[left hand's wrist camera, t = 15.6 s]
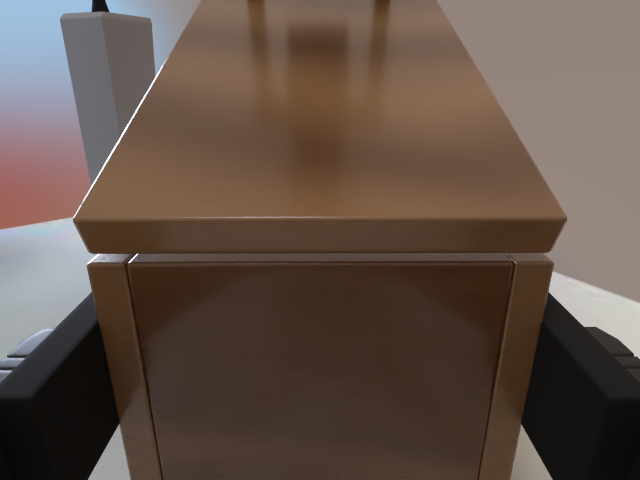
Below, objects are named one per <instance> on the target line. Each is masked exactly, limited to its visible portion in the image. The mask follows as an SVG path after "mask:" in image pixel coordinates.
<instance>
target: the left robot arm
mask: <svg viewBox="0 0 640 480" xmlns="http://www.w3.org/2000/svg"><path fill="white" fill-rule="evenodd" d="M521 424H522V426H523V428H524V429H525V431H526V433H527V435H528V436H529V438H530V440H531V442H532V444H533V445H534V447H535V449H536V451H537V452H538V454H539V456H540V458H541V460H542V461H543V463H544V465H545V467H546V468H547V470H548V472H549V474H550V476H551V477H552V479H553V480H640V359H639V358H638V357H634V354H633V353H632V352H631V351H630V350H629V349H628V348H627V347H626V346H625V345H624V344H623V343H621V342H620V341H619V340H618V339H616V338H615V337H613V336H611V335H609V334H607V333H606V332H604V331H602V330H600V329H598V328H597V327H583V326H582V325H581V324H580V323H579V322H578V321H577V320H576V319H575V318H574V317H573V316H572V315H571V314H570V313H569V312H568V311H567V310H566V309H565V308H564V307H563V306H562V305H561V304H560V303H559V302H558V301H557V300H556V299H555V298H554V297H553V296H552V295H551V294H550V293H549V292H548V296H547V301H546V306H545V310H544V315H543V320H542V324H541V329H540V334H539V339H538V344H537V348H536V353H535V358H534V363H533V368H532V373H531V378H530V383H529V387H528V392H527V397H526V402H525V407H524V412H523V417H522V422H521ZM118 425H119V420H118V415H117V410H116V405H115V400H114V395H113V390H112V386H111V381H110V376H109V371H108V366H107V361H106V356H105V352H104V347H103V342H102V337H101V332H100V327H99V323H98V318H97V313H96V308H95V303H94V298H93V293H92V292H91V293H90V294H89V295H88V296H87V297H86V298H85V299H84V300H83V301H82V302H81V303H80V304H79V305H78V306H77V307H76V308H75V309H74V310H73V311H72V312H71V313H70V314H69V315H68V316H67V317H66V318H65V319H64V320H63V321H62V322H61V323H60V324H59V325H58V326H57V327H56V328H45V329H43V330H41V331H40V332H38V333H36V334H34V335H32V336H31V337H29V338H27V339H25V340H24V341H22V342H21V343H20V344H19V345H18V346H17V347H16V348H15V349H14V350H12V351H11V352H10V353H9V354H8V355H7V358H4V359H3V360H2V361H1V362H0V480H88V478H89V476H90V475H91V473H92V471H93V469H94V467H95V466H96V464H97V462H98V460H99V459H100V457H101V455H102V453H103V451H104V450H105V448H106V446H107V444H108V443H109V441H110V439H111V437H112V435H113V434H114V432H115V430H116V428H117V427H118Z"/></svg>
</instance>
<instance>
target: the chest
mask: <svg viewBox="0 0 640 480" xmlns="http://www.w3.org/2000/svg"><path fill="white" fill-rule="evenodd" d="M553 266H554V263H553V262H552V261H551V260H550V259H549V258H548V257H547V256H545V255H544V254H543V253H239V254H98V255H97V256H95V257H94V258H93V259H92V260H91V261H90V262H88V264H87V269H88V274H89V279H90V284H91V289H92V293H93V298H94V303H95V308H96V313H97V318H98V323H99V327H100V332H101V337H102V342H103V347H104V352H105V356H106V361H107V366H108V371H109V376H110V381H111V386H112V390H113V395H114V400H115V405H116V410H117V415H118V420H119V424H120V429H121V434H122V439H123V444H124V449H125V454H126V458H127V463H128V468H129V473H130V478H131V480H510V477H511V472H512V467H513V462H514V457H515V453H516V448H517V443H518V438H519V433H520V428H521V422H522V417H523V412H524V407H525V402H526V397H527V392H528V387H529V383H530V378H531V373H532V368H533V363H534V358H535V353H536V348H537V344H538V339H539V334H540V329H541V324H542V320H543V315H544V310H545V306H546V301H547V296H548V291H549V286H550V281H551V276H552V271H553Z"/></svg>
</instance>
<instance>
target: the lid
mask: <svg viewBox="0 0 640 480" xmlns="http://www.w3.org/2000/svg"><path fill="white" fill-rule="evenodd" d="M566 222H567V216H566V214H565V213H564V211H563V209H562V208H561V206H560V204H559V203H558V201H557V199H556V198H555V196H554V194H553V193H552V191H551V189H550V188H549V186H548V184H547V183H546V181H545V179H544V178H543V176H542V174H541V173H540V171H539V169H538V168H537V166H536V164H535V163H534V161H533V160H532V158H531V156H530V154H529V153H528V151H527V149H526V148H525V146H524V144H523V143H522V141H521V139H520V138H519V136H518V134H517V133H516V131H515V130H514V128H513V126H512V125H511V123H510V121H509V120H508V118H507V116H506V115H505V113H504V111H503V110H502V108H501V106H500V105H499V103H498V101H497V100H496V98H495V96H494V95H493V93H492V91H491V90H490V88H489V86H488V85H487V83H486V81H485V80H484V78H483V76H482V75H481V73H480V71H479V70H478V68H477V66H476V65H475V63H474V61H473V60H472V58H471V56H470V55H469V53H468V51H467V50H466V48H465V46H464V45H463V43H462V41H461V40H460V38H459V36H458V35H457V33H456V31H455V30H454V28H453V26H452V25H451V23H450V22H449V20H448V18H447V16H446V15H445V13H444V11H443V10H442V8H441V6H440V5H439V3H438V2H437V0H201V1H200V3H199V5H198V6H197V8H196V10H195V11H194V13H193V15H192V17H191V18H190V20H189V22H188V23H187V25H186V27H185V29H184V30H183V32H182V34H181V35H180V37H179V39H178V40H177V42H176V44H175V46H174V47H173V49H172V51H171V52H170V54H169V56H168V57H167V59H166V61H165V63H164V64H163V66H162V68H161V69H160V71H159V73H158V74H157V76H156V78H155V80H154V81H153V83H152V85H151V86H150V88H149V90H148V91H147V93H146V95H145V97H144V98H143V100H142V102H141V103H140V105H139V107H138V108H137V110H136V112H135V114H134V115H133V117H132V119H131V120H130V122H129V124H128V126H127V127H126V129H125V131H124V132H123V134H122V136H121V137H120V139H119V141H118V143H117V144H116V146H115V148H114V149H113V151H112V153H111V154H110V156H109V158H108V160H107V161H106V163H105V165H104V166H103V168H102V170H101V171H100V173H99V175H98V177H97V178H96V180H95V182H94V183H93V185H92V187H91V189H90V190H89V192H88V194H87V195H86V197H85V199H84V200H83V202H82V204H81V206H80V207H79V209H78V211H77V212H76V214H75V216H74V217H73V223H74V224H75V226H76V228H77V230H78V232H79V234H80V236H81V238H82V240H83V242H84V244H85V246H86V248H87V250H88V252H89V253H92V254H239V253H548V252H551V251H552V249H553V247H554V245H555V243H556V241H557V239H558V237H559V236H560V234H561V232H562V230H563V228H564V226H565V224H566Z"/></svg>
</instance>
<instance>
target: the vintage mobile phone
mask: <svg viewBox="0 0 640 480" xmlns="http://www.w3.org/2000/svg"><path fill="white" fill-rule="evenodd" d="M92 1H93V3H92V12H86V13H67V14H63V15H62V17H61V18H60V22H61V28H62V33H63V38H64V44H65V49H66V54H67V60H68V65H69V70H70V75H71V81H72V86H73V91H74V97H75V102H76V107H77V113H78V118H79V123H80V129H81V134H82V139H83V145H84V150H85V155H86V160H87V166H88V171H89V177H90V182H91V187H92V185H93V183H94V182H95V180H96V178H97V177H98V175H99V173H100V171H101V170H102V168H103V166H104V165H105V163H106V161H107V160H108V158H109V156H110V154H111V153H112V151H113V149H114V148H115V146H116V144H117V143H118V141H119V139H120V137H121V136H122V134H123V132H124V131H125V129H126V127H127V126H128V124H129V122H130V120H131V119H132V117H133V115H134V114H135V112H136V110H137V108H138V107H139V105H140V103H141V102H142V100H143V98H144V97H145V95H146V93H147V91H148V90H149V88H150V86H151V85H152V83H153V81H154V80H155V65H154V51H153V37H152V23H151V19H150V18H145V17H138V16H131V15H124V14H116V13H110V12H109V10H108V7H107V5H106V2H105V0H92Z"/></svg>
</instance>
